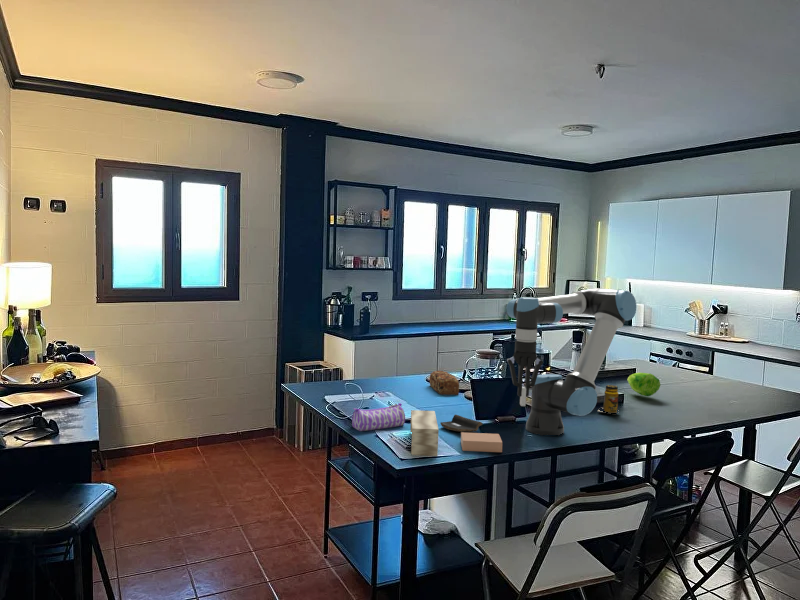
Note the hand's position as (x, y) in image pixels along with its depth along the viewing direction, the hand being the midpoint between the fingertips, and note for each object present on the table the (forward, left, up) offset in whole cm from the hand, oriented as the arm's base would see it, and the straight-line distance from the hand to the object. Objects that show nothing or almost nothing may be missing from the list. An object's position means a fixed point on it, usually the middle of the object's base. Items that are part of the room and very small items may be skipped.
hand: (522, 405), depth 216 cm
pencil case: (+52, -18, -16) cm, 58 cm away
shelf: (+36, 0, -16) cm, 40 cm away
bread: (+22, -85, -16) cm, 89 cm away
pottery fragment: (+22, -18, -17) cm, 33 cm away
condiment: (-52, -58, -16) cm, 80 cm away
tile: (+14, 0, -16) cm, 22 cm away
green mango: (-82, -96, -16) cm, 128 cm away
